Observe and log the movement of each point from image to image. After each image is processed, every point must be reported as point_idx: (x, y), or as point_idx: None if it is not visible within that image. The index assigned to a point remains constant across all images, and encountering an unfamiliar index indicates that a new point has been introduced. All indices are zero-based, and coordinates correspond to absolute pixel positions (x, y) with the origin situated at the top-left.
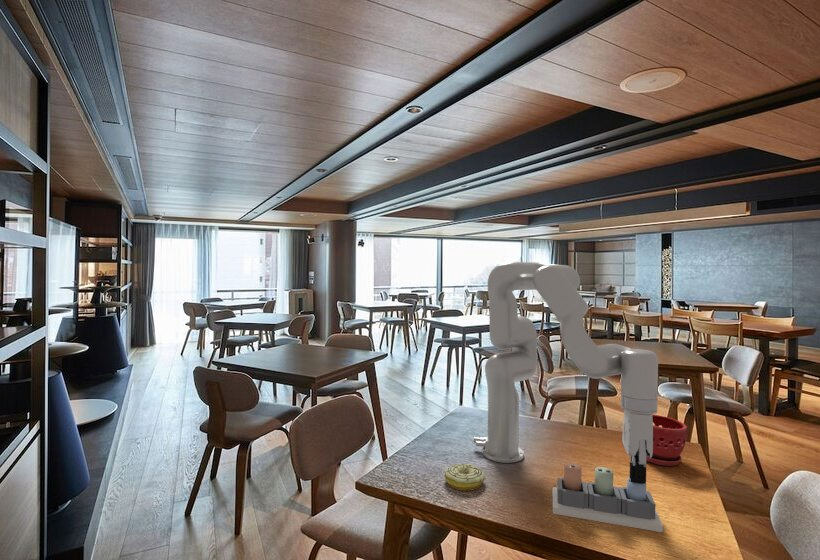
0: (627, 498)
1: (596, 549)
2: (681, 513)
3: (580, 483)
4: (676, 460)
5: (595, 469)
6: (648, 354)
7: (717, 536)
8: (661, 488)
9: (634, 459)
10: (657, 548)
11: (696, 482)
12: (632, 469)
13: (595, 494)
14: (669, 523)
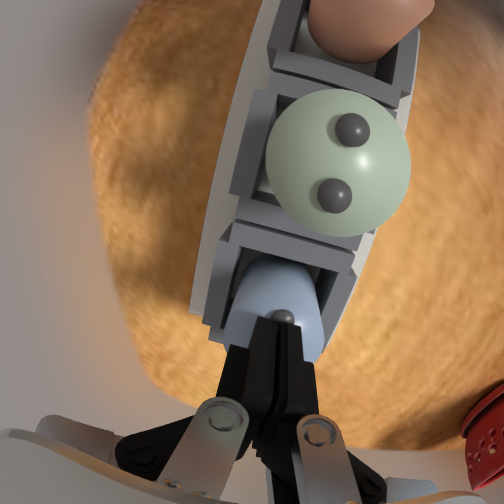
0: (277, 259)
1: (99, 84)
2: None
3: (327, 36)
4: (464, 432)
5: (365, 99)
6: None
7: (204, 399)
8: (411, 387)
9: (176, 452)
10: (121, 248)
11: (406, 439)
12: (246, 375)
13: (269, 99)
14: None
